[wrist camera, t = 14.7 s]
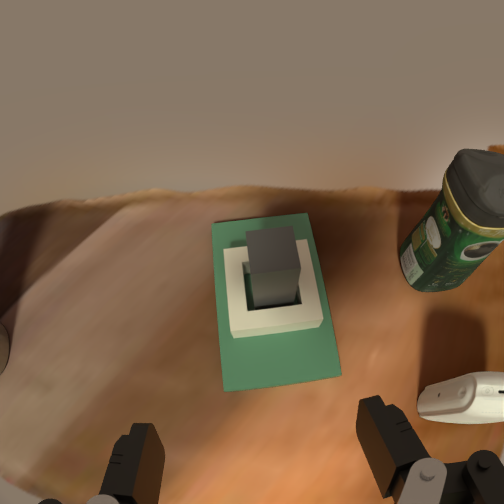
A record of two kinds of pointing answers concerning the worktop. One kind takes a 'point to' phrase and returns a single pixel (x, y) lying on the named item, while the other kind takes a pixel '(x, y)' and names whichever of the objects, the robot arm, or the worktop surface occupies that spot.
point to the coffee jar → (458, 224)
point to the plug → (273, 266)
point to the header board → (275, 347)
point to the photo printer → (465, 399)
